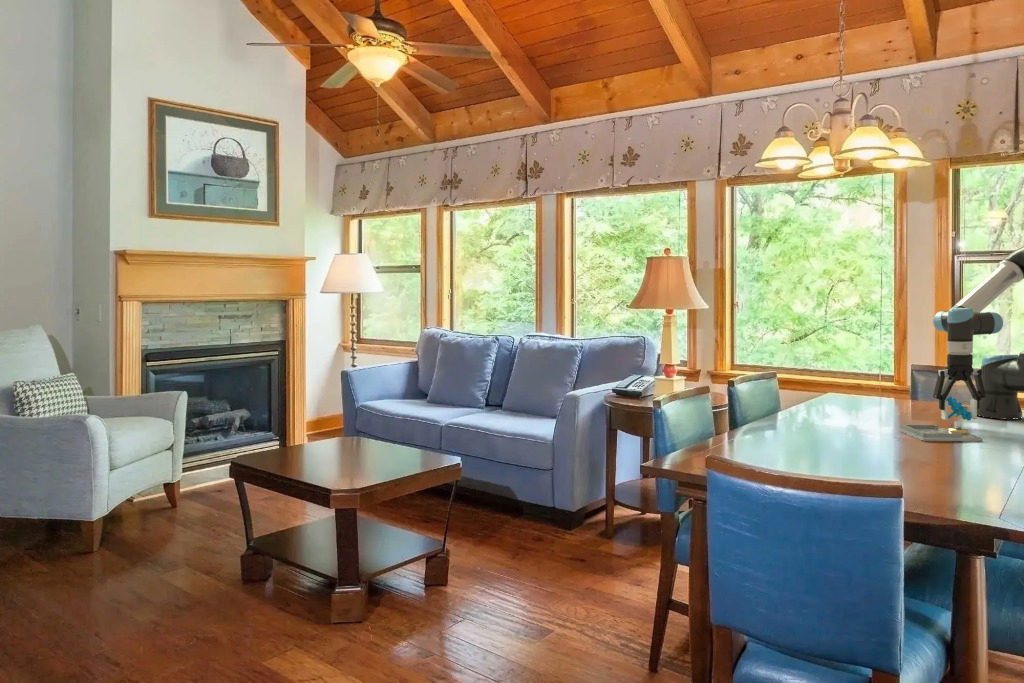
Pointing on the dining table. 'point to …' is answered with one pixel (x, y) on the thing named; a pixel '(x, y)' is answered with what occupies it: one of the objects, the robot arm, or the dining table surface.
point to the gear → (958, 409)
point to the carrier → (938, 433)
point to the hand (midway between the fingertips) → (958, 418)
